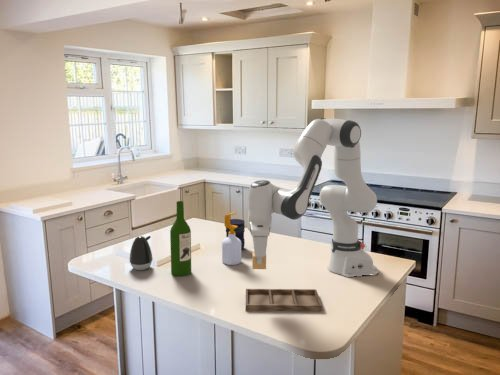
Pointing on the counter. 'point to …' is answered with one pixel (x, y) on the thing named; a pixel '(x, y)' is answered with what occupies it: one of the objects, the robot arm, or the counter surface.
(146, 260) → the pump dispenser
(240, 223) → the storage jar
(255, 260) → the letter cube
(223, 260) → the soap bottle
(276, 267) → the counter surface
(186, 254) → the wine bottle
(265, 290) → the organiser
